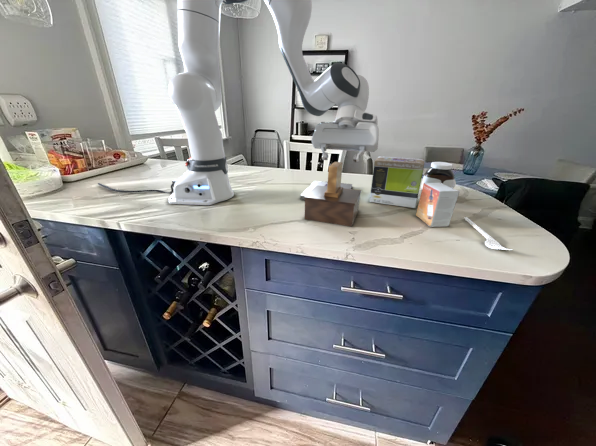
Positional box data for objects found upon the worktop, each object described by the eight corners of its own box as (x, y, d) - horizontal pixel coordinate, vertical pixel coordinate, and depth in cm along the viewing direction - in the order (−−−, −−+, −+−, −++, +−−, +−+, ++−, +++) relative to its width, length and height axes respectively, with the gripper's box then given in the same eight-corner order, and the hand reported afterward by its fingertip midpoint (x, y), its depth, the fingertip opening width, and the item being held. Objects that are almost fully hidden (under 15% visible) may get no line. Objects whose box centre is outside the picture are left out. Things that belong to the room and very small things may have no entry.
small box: (415, 215, 75) (422, 182, 70) (432, 215, 75) (441, 182, 71) (430, 227, 67) (439, 191, 63) (449, 226, 68) (460, 190, 63)
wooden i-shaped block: (324, 196, 70) (325, 166, 66) (330, 189, 76) (331, 161, 72) (337, 198, 69) (340, 167, 65) (342, 190, 74) (345, 162, 71)
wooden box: (303, 219, 72) (303, 197, 69) (316, 205, 83) (316, 185, 80) (352, 227, 68) (354, 203, 65) (358, 211, 78) (361, 190, 75)
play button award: (300, 195, 87) (314, 180, 104) (300, 199, 88) (314, 184, 105) (345, 200, 83) (352, 184, 100) (345, 204, 83) (352, 187, 101)
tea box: (416, 199, 87) (425, 158, 81) (415, 209, 79) (425, 163, 73) (373, 194, 93) (378, 154, 87) (368, 202, 85) (374, 159, 79)
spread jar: (420, 195, 92) (427, 164, 87) (419, 187, 101) (425, 158, 96) (456, 199, 88) (466, 167, 83) (451, 190, 97) (460, 161, 92)
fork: (470, 219, 72) (472, 214, 71) (512, 256, 54) (515, 249, 53) (458, 219, 73) (460, 213, 72) (496, 255, 55) (499, 248, 54)
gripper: (315, 114, 77) (304, 151, 73) (382, 115, 70) (374, 156, 66) (318, 128, 83) (308, 163, 79) (381, 130, 76) (374, 168, 72)
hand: (339, 160), depth 72 cm, fingers open, 8 cm apart
